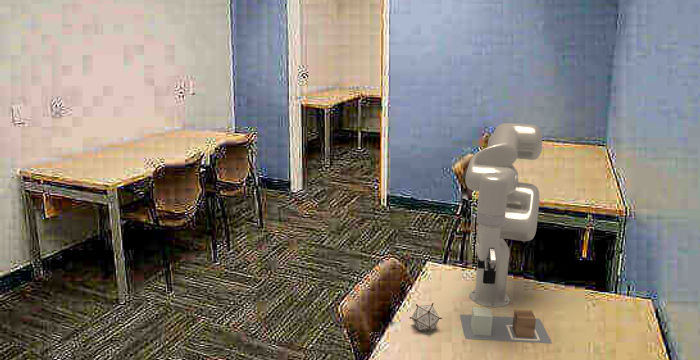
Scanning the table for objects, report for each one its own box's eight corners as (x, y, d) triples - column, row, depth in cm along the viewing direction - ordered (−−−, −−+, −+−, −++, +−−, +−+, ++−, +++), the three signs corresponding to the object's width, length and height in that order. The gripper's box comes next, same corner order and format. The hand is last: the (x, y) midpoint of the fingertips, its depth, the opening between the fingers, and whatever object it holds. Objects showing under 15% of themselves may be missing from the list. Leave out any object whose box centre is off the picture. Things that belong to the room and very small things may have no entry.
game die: (428, 344, 167) (436, 331, 159) (402, 330, 169) (409, 315, 161) (440, 320, 172) (449, 305, 164) (415, 306, 174) (422, 291, 166)
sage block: (470, 325, 169) (472, 307, 167) (488, 326, 169) (489, 308, 167) (473, 334, 164) (474, 315, 162) (490, 335, 164) (492, 316, 162)
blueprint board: (459, 316, 176) (459, 314, 175) (539, 320, 174) (539, 318, 174) (465, 341, 162) (465, 338, 162) (552, 346, 161) (552, 343, 160)
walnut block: (512, 327, 168) (514, 309, 167) (529, 328, 168) (531, 310, 166) (515, 336, 163) (517, 317, 162) (533, 337, 163) (535, 318, 161)
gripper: (472, 207, 166) (468, 262, 170) (481, 228, 149) (476, 289, 154) (499, 208, 165) (493, 263, 170) (511, 229, 148) (505, 290, 153)
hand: (485, 275), depth 162 cm, fingers open, 9 cm apart
